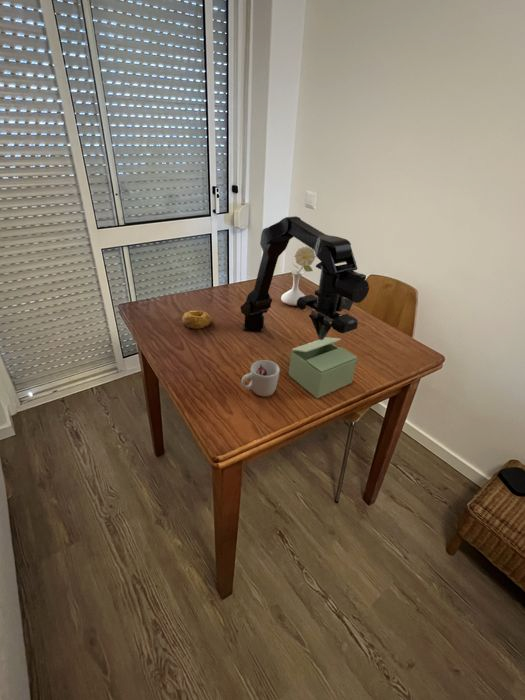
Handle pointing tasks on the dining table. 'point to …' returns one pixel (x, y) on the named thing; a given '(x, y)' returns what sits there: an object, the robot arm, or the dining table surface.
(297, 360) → the carton
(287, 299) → the flower in vase
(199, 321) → the bagel
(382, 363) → the dining table surface
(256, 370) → the cup
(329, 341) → the flap
